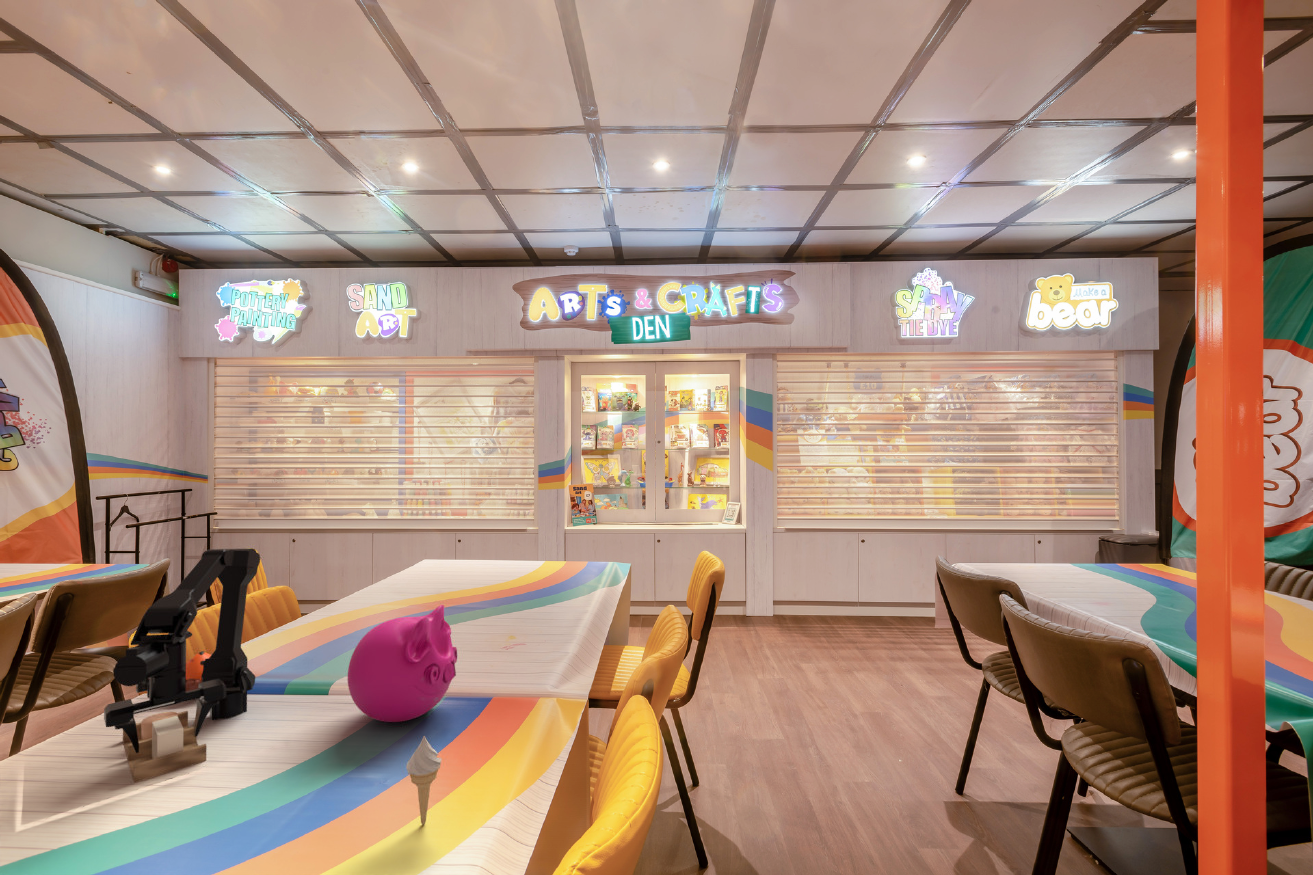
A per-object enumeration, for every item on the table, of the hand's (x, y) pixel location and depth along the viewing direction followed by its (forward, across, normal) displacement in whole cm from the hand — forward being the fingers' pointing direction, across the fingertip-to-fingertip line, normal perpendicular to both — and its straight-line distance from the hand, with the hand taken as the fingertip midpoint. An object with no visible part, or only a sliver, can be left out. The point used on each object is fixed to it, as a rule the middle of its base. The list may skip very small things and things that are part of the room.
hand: (167, 743), depth 121 cm
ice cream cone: (+4, -27, +56) cm, 63 cm away
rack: (+4, 0, -6) cm, 7 cm away
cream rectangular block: (+3, 0, 0) cm, 3 cm away
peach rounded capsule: (+3, 0, -11) cm, 11 cm away
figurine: (+4, -42, +14) cm, 45 cm away
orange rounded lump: (+4, -12, -36) cm, 38 cm away
